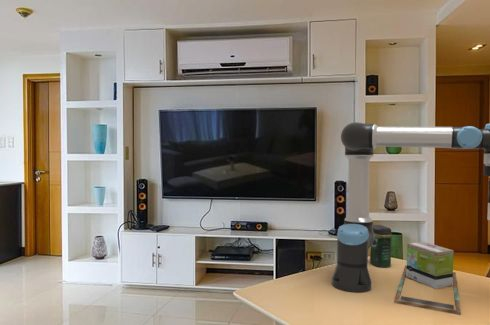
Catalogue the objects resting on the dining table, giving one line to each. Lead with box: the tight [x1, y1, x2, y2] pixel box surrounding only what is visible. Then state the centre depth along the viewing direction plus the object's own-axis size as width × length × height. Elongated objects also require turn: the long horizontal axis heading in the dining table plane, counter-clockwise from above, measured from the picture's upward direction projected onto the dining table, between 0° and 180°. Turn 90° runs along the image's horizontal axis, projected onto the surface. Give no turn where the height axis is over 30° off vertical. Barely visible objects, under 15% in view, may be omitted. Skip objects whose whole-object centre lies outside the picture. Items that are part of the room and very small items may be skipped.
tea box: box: [405, 241, 455, 290], centre depth 157 cm, size 15×10×15 cm, turn 23°
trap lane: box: [393, 264, 462, 316], centre depth 151 cm, size 20×47×1 cm, turn 153°
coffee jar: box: [369, 224, 393, 268], centre depth 180 cm, size 10×8×19 cm
